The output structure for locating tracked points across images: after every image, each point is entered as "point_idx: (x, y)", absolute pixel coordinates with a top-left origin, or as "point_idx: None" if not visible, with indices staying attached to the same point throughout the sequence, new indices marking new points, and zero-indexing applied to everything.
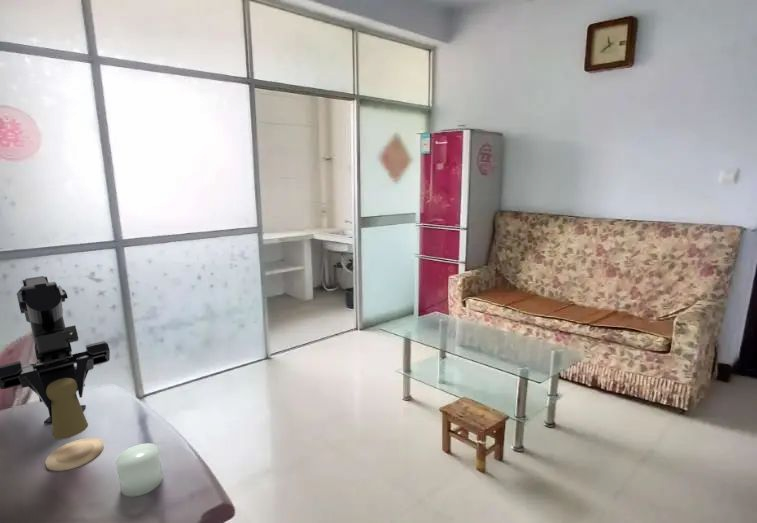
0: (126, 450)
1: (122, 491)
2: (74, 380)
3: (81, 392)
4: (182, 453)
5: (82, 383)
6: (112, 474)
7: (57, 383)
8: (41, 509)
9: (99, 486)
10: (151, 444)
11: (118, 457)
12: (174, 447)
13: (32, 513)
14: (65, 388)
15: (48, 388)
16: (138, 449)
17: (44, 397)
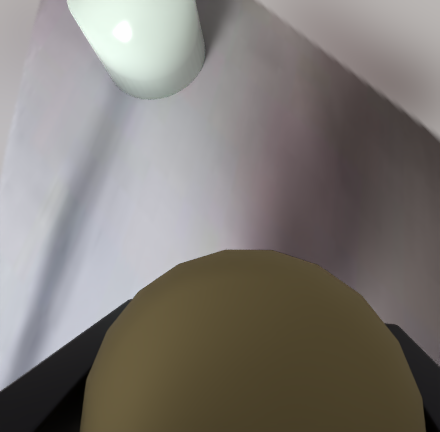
0: (140, 26)
1: (203, 40)
2: (87, 396)
3: (119, 310)
4: (33, 102)
5: (52, 358)
6: (200, 143)
7: (288, 380)
8: (381, 123)
9: (241, 114)
10: (73, 7)
11: (172, 7)
12: (31, 145)
13: (403, 122)
14: (223, 255)
15: (406, 383)
16: (112, 8)
17: (429, 378)
